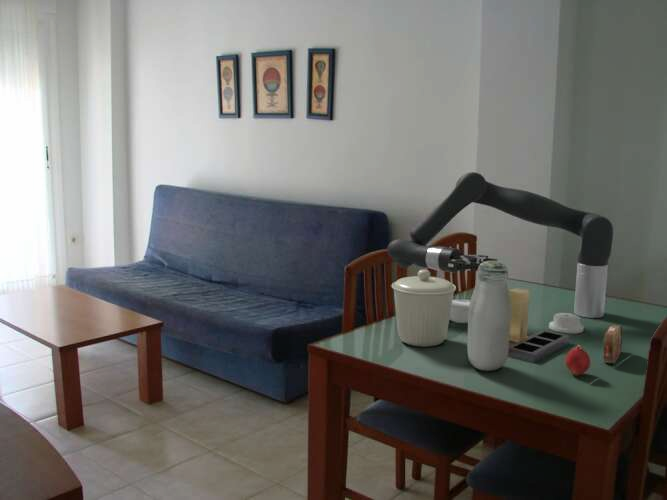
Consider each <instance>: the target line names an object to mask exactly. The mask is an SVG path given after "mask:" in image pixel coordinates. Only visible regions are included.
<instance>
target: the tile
mask: <svg viewBox="0 0 667 500" xmlns="http://www.w3.org/2000/svg"><path fill="white" fill-rule="evenodd" d="M529 336H530V335H529ZM529 336H528V335H527V337H529ZM527 337H526V338H527ZM524 339H525V338H524ZM522 340H523V339H522ZM510 341H511V342H515V343H516V342H519V341H518V340H514V339H510V338H509V342H510ZM520 341H521V340H520Z"/></svg>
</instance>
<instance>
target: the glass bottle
mask: <svg viewBox="0 0 667 500" xmlns="http://www.w3.org/2000/svg"><path fill="white" fill-rule="evenodd" d="M482 262H483V261H482ZM476 277H477V278H476V281H475V286H474V289H473V292H472V295H471V297H470V299H469V300H470V304H469V314H468V323H467V357H468V360H469V362H470V363H471V365H472V366H473V367H474V368H475V369H478V370H480V371H484V372H489V371H490V372H491V371H496V370H498V369H500V368H502V367H503V366H504V364H505V363H506V361H507V359H508V357H509V356H508V350H509V346H510V340H509V335H510V326H511V304H510V298H509V293H508V291H509V290H508V287H509V286H508V280H509V279H508V277H509V271H508V268H507V265H506V264H505V263H504V262H502V261H501V260H498V261H493V260H492V261H485V262H483V263H481V264H480V265H479V267H478V271H476Z"/></svg>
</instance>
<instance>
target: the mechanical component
mask: <svg viewBox="0 0 667 500" xmlns="http://www.w3.org/2000/svg"><path fill="white" fill-rule="evenodd" d="M580 321H581V316H579V315H576V314H574V313H569V312H567V313H566V312H559V313H556V314H554V315H553V320H552V321H550V322H549V323H548V328H549V329H550V330H553V331H556V332H558V333H566V334H573V335H574V334H579V333H583V332H584V330H585V329H584V328H585V327H584V325H583V324H581V323H580Z"/></svg>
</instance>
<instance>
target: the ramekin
mask: <svg viewBox="0 0 667 500" xmlns="http://www.w3.org/2000/svg"><path fill="white" fill-rule="evenodd" d="M470 300H471V299H452V305H451V312H450V318H449V321H451V322H454V323H458V324H468V314H469V304H470Z"/></svg>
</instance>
